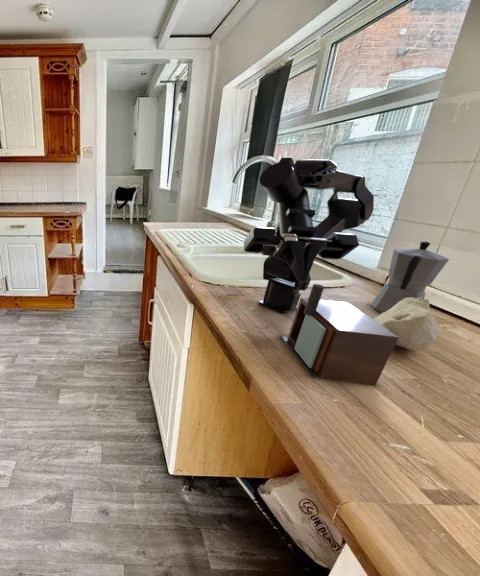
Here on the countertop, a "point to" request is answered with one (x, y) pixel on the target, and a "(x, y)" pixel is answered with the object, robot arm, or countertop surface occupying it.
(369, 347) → the cabinet
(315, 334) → the cleaver
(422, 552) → the countertop surface
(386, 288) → the coffeepot
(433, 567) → the countertop surface
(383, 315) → the beige rock
